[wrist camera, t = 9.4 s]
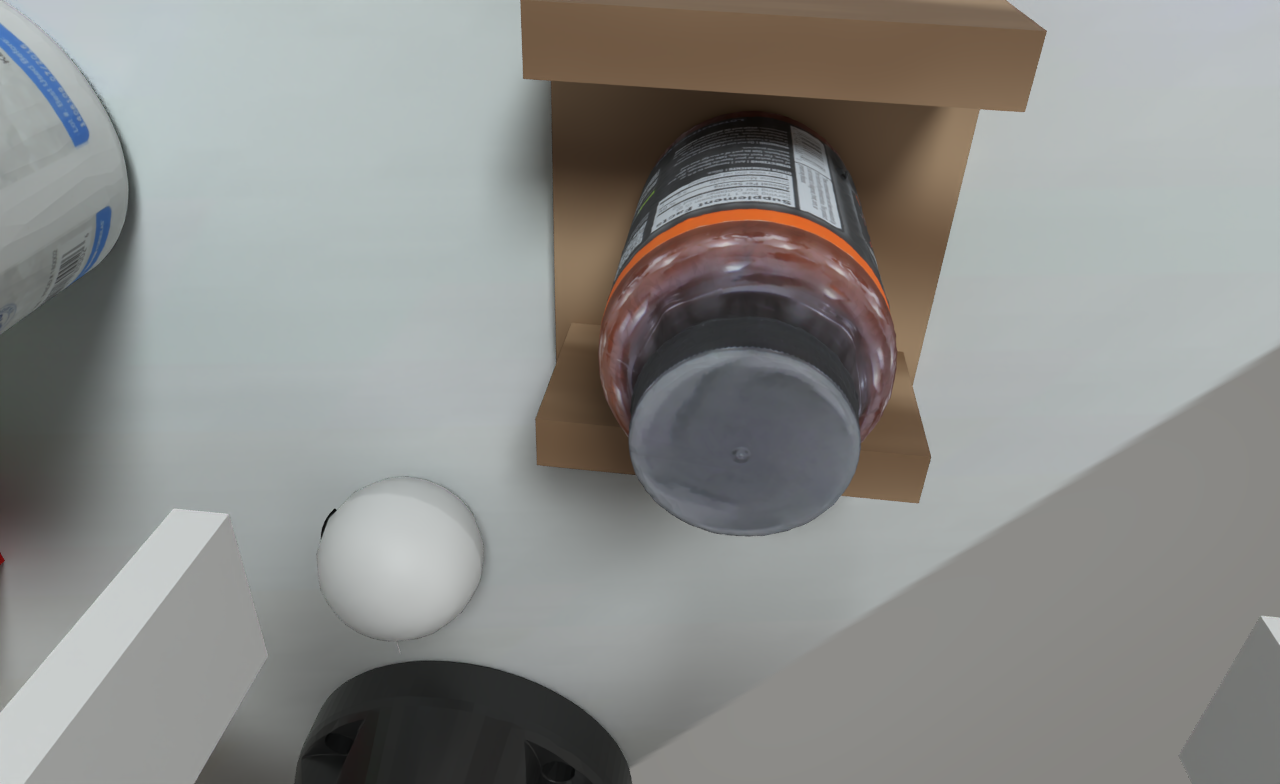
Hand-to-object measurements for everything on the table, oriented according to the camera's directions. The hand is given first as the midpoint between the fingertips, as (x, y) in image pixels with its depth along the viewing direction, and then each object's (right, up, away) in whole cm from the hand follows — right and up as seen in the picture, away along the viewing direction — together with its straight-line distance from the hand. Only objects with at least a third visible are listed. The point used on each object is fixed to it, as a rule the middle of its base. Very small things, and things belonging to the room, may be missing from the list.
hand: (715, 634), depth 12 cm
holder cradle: (+2, +9, +13) cm, 16 cm away
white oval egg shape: (-9, -2, +22) cm, 24 cm away
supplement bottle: (+2, +8, +13) cm, 16 cm away
